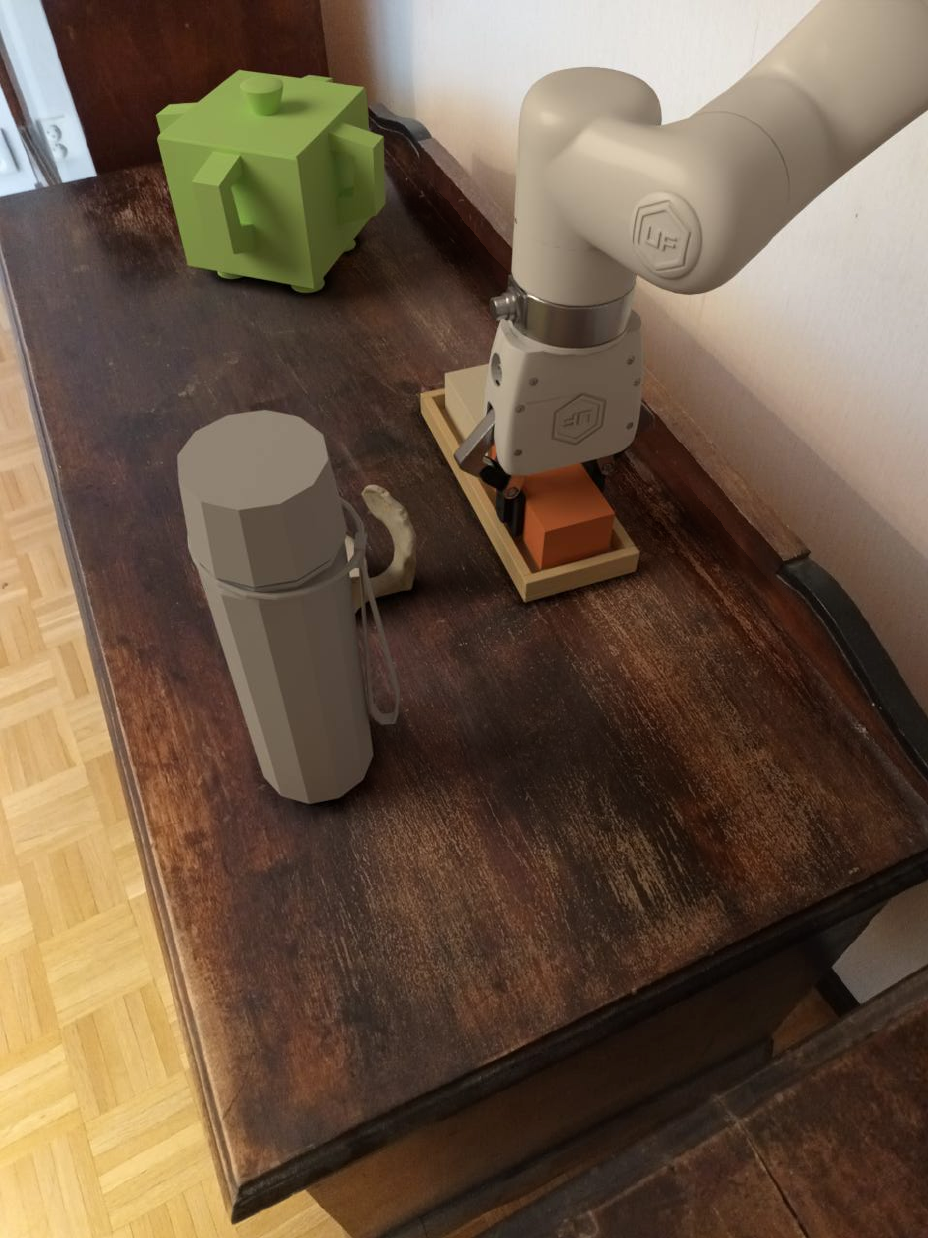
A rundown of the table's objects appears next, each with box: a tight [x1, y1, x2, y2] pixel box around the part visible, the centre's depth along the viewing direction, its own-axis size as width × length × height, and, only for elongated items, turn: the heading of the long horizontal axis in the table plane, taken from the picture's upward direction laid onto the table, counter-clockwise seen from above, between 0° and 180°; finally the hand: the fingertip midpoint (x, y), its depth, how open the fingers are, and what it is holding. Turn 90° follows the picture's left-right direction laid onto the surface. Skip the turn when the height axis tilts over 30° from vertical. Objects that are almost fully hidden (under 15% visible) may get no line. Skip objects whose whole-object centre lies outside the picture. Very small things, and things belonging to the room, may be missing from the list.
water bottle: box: [176, 409, 401, 805], centre depth 49 cm, size 9×8×25 cm
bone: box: [345, 484, 417, 614], centre depth 65 cm, size 9×6×10 cm
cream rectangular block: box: [444, 363, 492, 459], centre depth 77 cm, size 10×6×4 cm, turn 20°
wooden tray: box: [419, 387, 640, 603], centre depth 74 cm, size 24×9×2 cm, turn 20°
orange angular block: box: [492, 444, 616, 570], centre depth 69 cm, size 10×6×4 cm, turn 20°
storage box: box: [155, 69, 387, 294], centre depth 91 cm, size 25×23×17 cm
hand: (548, 512), depth 71 cm, fingers closed on orange angular block, 5 cm apart
